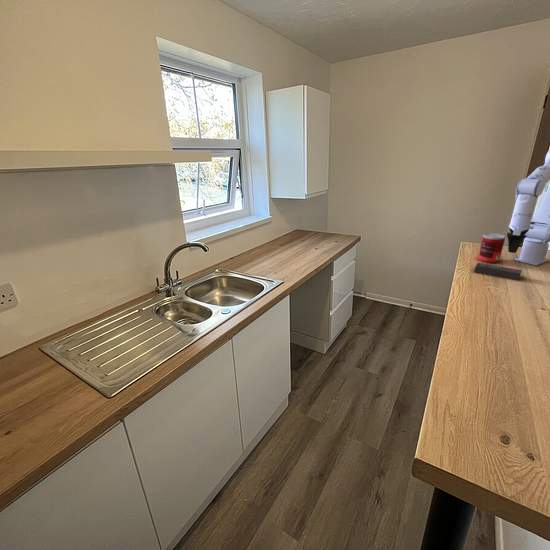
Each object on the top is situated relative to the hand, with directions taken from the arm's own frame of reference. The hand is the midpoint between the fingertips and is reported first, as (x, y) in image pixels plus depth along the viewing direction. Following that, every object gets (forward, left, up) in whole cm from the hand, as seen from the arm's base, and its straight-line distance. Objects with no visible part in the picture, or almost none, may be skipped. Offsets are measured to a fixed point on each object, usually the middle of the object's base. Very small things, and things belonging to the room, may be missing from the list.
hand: (513, 249), depth 113 cm
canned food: (-8, -11, -10) cm, 17 cm away
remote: (+5, -1, -9) cm, 11 cm away
